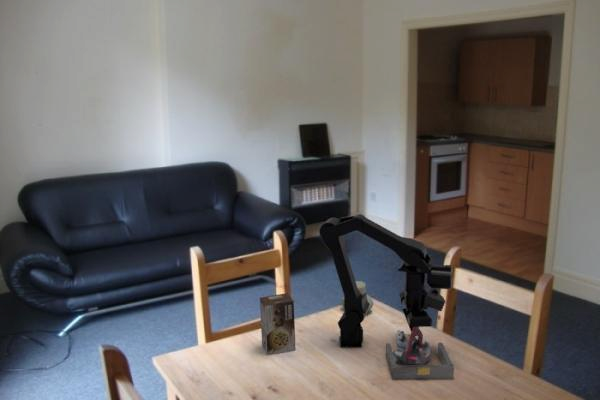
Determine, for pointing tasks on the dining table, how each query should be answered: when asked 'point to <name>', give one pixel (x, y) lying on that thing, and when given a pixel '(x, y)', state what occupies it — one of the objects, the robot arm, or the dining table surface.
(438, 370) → the receiver
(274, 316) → the coffee box
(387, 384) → the dining table surface
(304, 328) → the dining table surface
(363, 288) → the air freshener
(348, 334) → the robot arm
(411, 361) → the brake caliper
